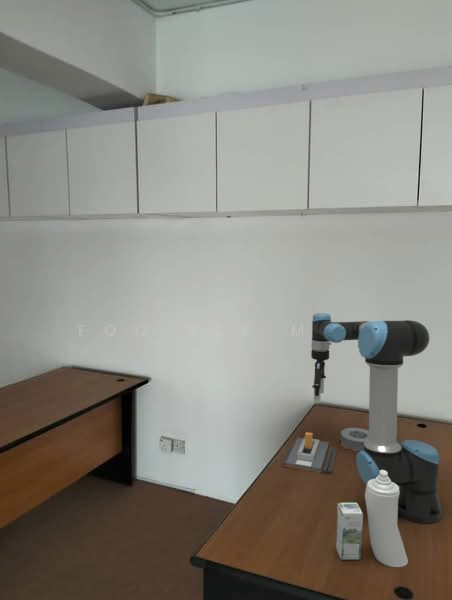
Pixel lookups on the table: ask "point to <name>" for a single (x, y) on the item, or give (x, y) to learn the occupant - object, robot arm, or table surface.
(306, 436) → the breaker toggle
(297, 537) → the table surface
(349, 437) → the tape roll
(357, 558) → the syrup box
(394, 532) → the spray can
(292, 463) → the breaker panel
